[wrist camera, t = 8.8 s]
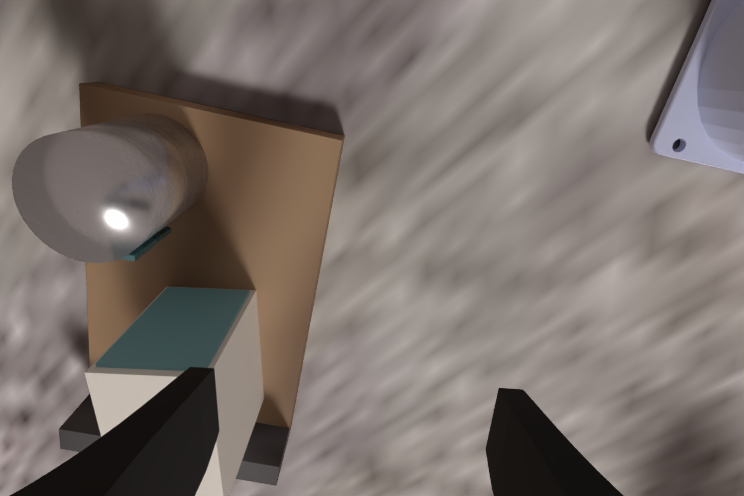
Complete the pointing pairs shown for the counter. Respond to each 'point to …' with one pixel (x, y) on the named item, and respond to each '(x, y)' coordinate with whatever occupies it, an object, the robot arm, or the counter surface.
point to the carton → (179, 352)
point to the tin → (109, 186)
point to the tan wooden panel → (226, 249)
